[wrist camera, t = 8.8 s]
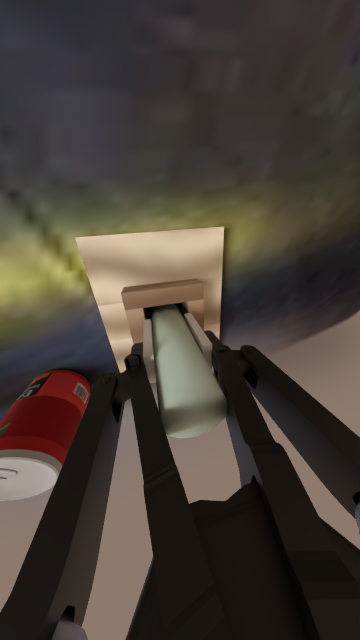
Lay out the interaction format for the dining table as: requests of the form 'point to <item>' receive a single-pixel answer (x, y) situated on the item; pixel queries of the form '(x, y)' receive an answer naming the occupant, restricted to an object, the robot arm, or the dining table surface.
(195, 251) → the socket board
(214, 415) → the peg
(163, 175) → the dining table surface
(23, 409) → the canned food
